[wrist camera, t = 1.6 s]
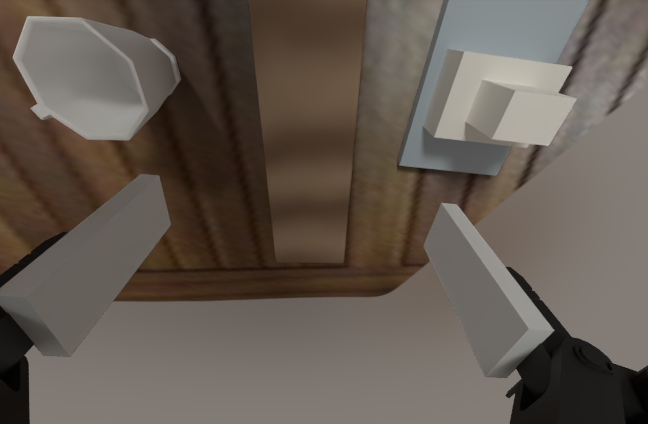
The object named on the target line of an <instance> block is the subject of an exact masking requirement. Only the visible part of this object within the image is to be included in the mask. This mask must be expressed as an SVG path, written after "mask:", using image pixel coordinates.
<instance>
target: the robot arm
mask: <svg viewBox="0 0 648 424" xmlns="http://www.w3.org/2000/svg"><path fill="white" fill-rule="evenodd" d="M170 226H171V222H170V218H169V214H168V210H167V206H166V202H165V198H164V194H163V190H162V185H161V181H160V177H159V175H148V174H140V175H139V176H138V177H137V178H135V179H134V180H133V181H132V182H130V183H129V184H128V185H127V186H126V187H124V188H123V189H122V190H121V191H119V192H118V193H117V194H116V195H114V196H113V197H112V198H111V199H109V200H108V201H107V202H106V203H105V204H103V205H102V206H101V207H100V208H98V209H97V210H96V211H95V212H93V213H92V214H91V215H90V216H88V217H87V218H86V219H85V220H84V221H82V222H81V223H80V224H79V225H77V226H76V227H75V228H74V229H72V230H71V231H70V232H63V233H60V234H58V235H56V236H54V237H52V238H50V239H48V240H46V241H44V242H43V243H42V244H40V245H39V246H38V247H37V248H35V249H34V250H33V251H31V254H27V255H26V256H25V257H24V258H22V259H21V260H20V261H19V263H18V264H14V265H13V266H12V267H11V268H9V269H8V270H7V271H5V272H4V273H3V274H2V275H0V424H30V420H29V369H28V367H29V365H28V361H27V358H26V357H25V356H24V355H25V354H26V352H28V350H29V349H30V348H31V347H32V346H33V345H35V347H36V348H37V349H38V350H39V351H40V352H41V353H42V355H44V356H63V357H71V356H72V354H73V353H74V352H75V350H76V349H77V348H78V346H79V345H80V344H81V342H82V341H83V340H84V339H85V337H86V336H87V335H88V333H89V332H90V331H91V329H92V328H93V327H94V325H95V324H96V323H97V321H98V320H99V319H100V318H101V316H102V315H103V314H104V312H105V311H106V309H107V308H108V307H109V306H110V304H111V303H112V302H113V300H114V299H115V298H116V297H117V295H118V294H119V293H120V291H121V290H122V289H123V287H124V286H125V285H126V283H127V282H128V281H129V279H130V278H131V277H132V276H133V274H134V273H135V272H136V270H137V269H138V268H139V266H140V265H141V264H142V262H143V261H144V260H145V258H146V257H147V256H148V254H149V253H150V252H151V251H152V249H153V248H154V247H155V245H156V244H157V243H158V241H159V240H160V239H161V237H162V236H163V235H164V233H165V232H166V231H167V230H168V228H169V227H170ZM423 247H424V249H425V251H426V253H427V255H428V257H429V259H430V261H431V263H432V266H433V268H434V270H435V272H436V274H437V276H438V278H439V280H440V283H441V285H442V287H443V289H444V291H445V293H446V295H447V297H448V300H449V302H450V304H451V306H452V308H453V310H454V312H455V314H456V316H457V319H458V321H459V323H460V325H461V327H462V329H463V331H464V333H465V335H466V338H467V340H468V341H469V344H470V346H471V348H472V350H473V352H474V355H475V357H476V359H477V361H478V363H479V365H480V367H481V369H482V371H483V373H484V376H485V377H497V378H507V377H508V376H509V375H510V374H511V373H512V372H513V371H514V370H515V369H517V371H518V372H519V374H520V376H521V378H522V379H521V380H520V381H519V382H518V383H517V384H516V385H514V387H512V388H511V389H510V390H509V391H508V393H507V394H506V397H508V398H510V397H511V396H512V395H513V394H515V398H514V404H513V409H512V414H511V420H510V424H648V366H646V367H645V368H643V369H642V370H640V371H639V372H637V371H634V370H631V369H628V368H625V367H622V366H619V365H616V364H613V363H612V362H611V360H610V359H609V358H608V357H607V356H606V355H605V354H603V353H602V352H601V351H600V350H599V349H597V348H596V347H594V346H593V345H591V344H590V343H588V342H586V341H583V340H581V339H578V338H572V337H571V336H570V334H569V333H568V332H567V331H566V330H565V328H564V327H563V326H562V325H561V323H560V322H559V321H558V320H557V318H556V317H555V316H554V315H553V314H552V312H551V311H550V310H549V309H548V307H547V306H546V305H545V304H544V302H543V301H542V300H540V298H539V296H538V295H537V294H536V293H535V291H532V288H531V286H530V285H529V284H528V283H527V282H526V280H525V279H524V278H523V277H522V276H521V275H519V274H518V273H517V272H516V271H514V270H513V269H512V268H511V267H505V266H504V265H503V264H502V262H501V261H500V260H499V258H498V257H497V256H496V255H495V253H494V252H493V251H492V249H491V248H490V247H489V246H488V244H487V243H486V242H485V240H484V239H483V238H482V237H481V235H480V234H479V233H478V231H477V230H476V229H475V227H474V226H473V225H472V224H471V222H470V221H469V220H468V218H467V217H466V216H465V215H464V213H463V212H462V211H461V209H460V208H459V207H458V206H457V204H447V203H441V205H440V208H439V210H438V212H437V215H436V217H435V219H434V222H433V224H432V227H431V229H430V231H429V234H428V236H427V238H426V241H425V243H424V245H423Z"/></svg>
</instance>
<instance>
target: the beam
mask: <svg viewBox="0 0 648 424" xmlns="http://www.w3.org/2000/svg"><path fill="white" fill-rule="evenodd" d="M366 6H367V0H248V7H249V17H250V26H251V35H252V44H253V54H254V63H255V72H256V82H257V91H258V100H259V110H260V119H261V128H262V137H263V147H264V156H265V165H266V175H267V184H268V193H269V202H270V212H271V221H272V230H273V240H274V249H275V258H276V263H344V253H345V242H346V231H347V220H348V208H349V197H350V186H351V175H352V163H353V152H354V141H355V130H356V118H357V107H358V96H359V85H360V73H361V62H362V51H363V40H364V28H365V17H366Z"/></svg>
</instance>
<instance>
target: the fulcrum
mask: <svg viewBox="0 0 648 424" xmlns="http://www.w3.org/2000/svg"><path fill="white" fill-rule="evenodd" d="M587 3H588V1H587V0H444V1H443V5H442V8H441V12H440V15H439V19H438V22H437V25H436V29H435V32H434V36H433V39H432V43H431V46H430V50H429V53H428V56H427V60H426V63H425V67H424V70H423V74H422V77H421V81H420V84H419V87H418V91H417V94H416V98H415V101H414V105H413V108H412V112H411V115H410V118H409V122H408V125H407V129H406V132H405V136H404V139H403V143H402V146H401V150H400V153H399V156H398V160H397V162H398V164H399V166H408V167H418V168H427V169H437V170H446V171H456V172H465V173H475V174H484V175H494V176H496V175H497V173H498V171H499V169H500V168H501V166H502V164H503V162H504V160H505V158H506V156H507V154H508V152H509V151H510V149H511V147H512V146H514V147H523V148H527V147H528V145H529V144H538V145H546V146H549V144H550V143H551V141H552V139H553V138H554V136H555V134H556V133H557V131H558V129H559V128H560V126H561V124H562V123H563V121H564V119H565V118H566V116H567V115H568V113H569V111H570V110H571V108H572V106H573V105H574V103H575V101H576V100H577V98H573V97H570V96H566V95H563V94H559V93H558V92H559V90H560V88H561V87H562V85H563V83H564V81H565V80H566V78H567V76H568V74H569V73H570V71H571V69H572V67H570V66H564V65H558V64H556V62H557V60H558V58H559V56H560V54H561V52H562V50H563V48H564V47H565V45H566V43H567V41H568V39H569V37H570V35H571V33H572V31H573V30H574V28H575V26H576V24H577V22H578V20H579V18H580V16H581V14H582V13H583V11H584V9H585V7H586V5H587Z"/></svg>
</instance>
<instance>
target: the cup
mask: <svg viewBox="0 0 648 424" xmlns="http://www.w3.org/2000/svg"><path fill="white" fill-rule="evenodd" d="M13 59H14V61H15V63H16V65H17V67H18V69H19V70H20V72H21V74H22V76H23V78H24V80H25V81H26V83H27V85H28V87H29V89H30V91H31V92H32V94H33V96H34V98H35V100H36V102H37V103H38V104H37V105H35V106H33V107H32V108H31V110H32V111H33V112H34V113H35V114H36V115H37V116H38V117H39V118H40V119H41V120H45V119H49V118H52V117H54V118H55V119H57V120H58V121H60V122H61V123H63V124H64V125H66V126H67V127H69V128H70V129H72V130H73V131H75V132H76V133H78V134H79V135H81V136H82V137H84V138H85V139H87V140H130V139H131V138H132V137H133V136H134V135H135V134H136V133H137V132H138V131H139V130H140V129H141V128H142V126H143V125H144V124H145V123H146V122H147V121H148V120H149V119H150V118H151V117H152V116H153V115H154V114H155V113H156V112H157V111H158V110H159V108H160V107H161V105H162V104H163V102H164V101H165V99H166V98H167V97H168V95H171V94H172V92H173V91H174V89H175V88H176V87H177V85H178V84H179V82H180V81H181V76H180V72H179V68H178V64H177V60H176V57H175V56H174V55H173V54H172V53H171V52H170V51H169V50H168V49H167V48H165V47H164V46H163V45H162V44H161V43H160V42H159V41H158V40H157V39H148V38H147V37H145V36H142V35H140V34H138V33H136V32H134V31H131V30H127V29H123V28H119V27H114V26H110V25H107V24H103V23H100V22H96V21H92V20H88V19H84V18H72V17H37V16H27V19H26V22H25V24H24V27H23V30H22V33H21V36H20V38H19V41H18V44H17V47H16V50H15V52H14V55H13Z"/></svg>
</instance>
